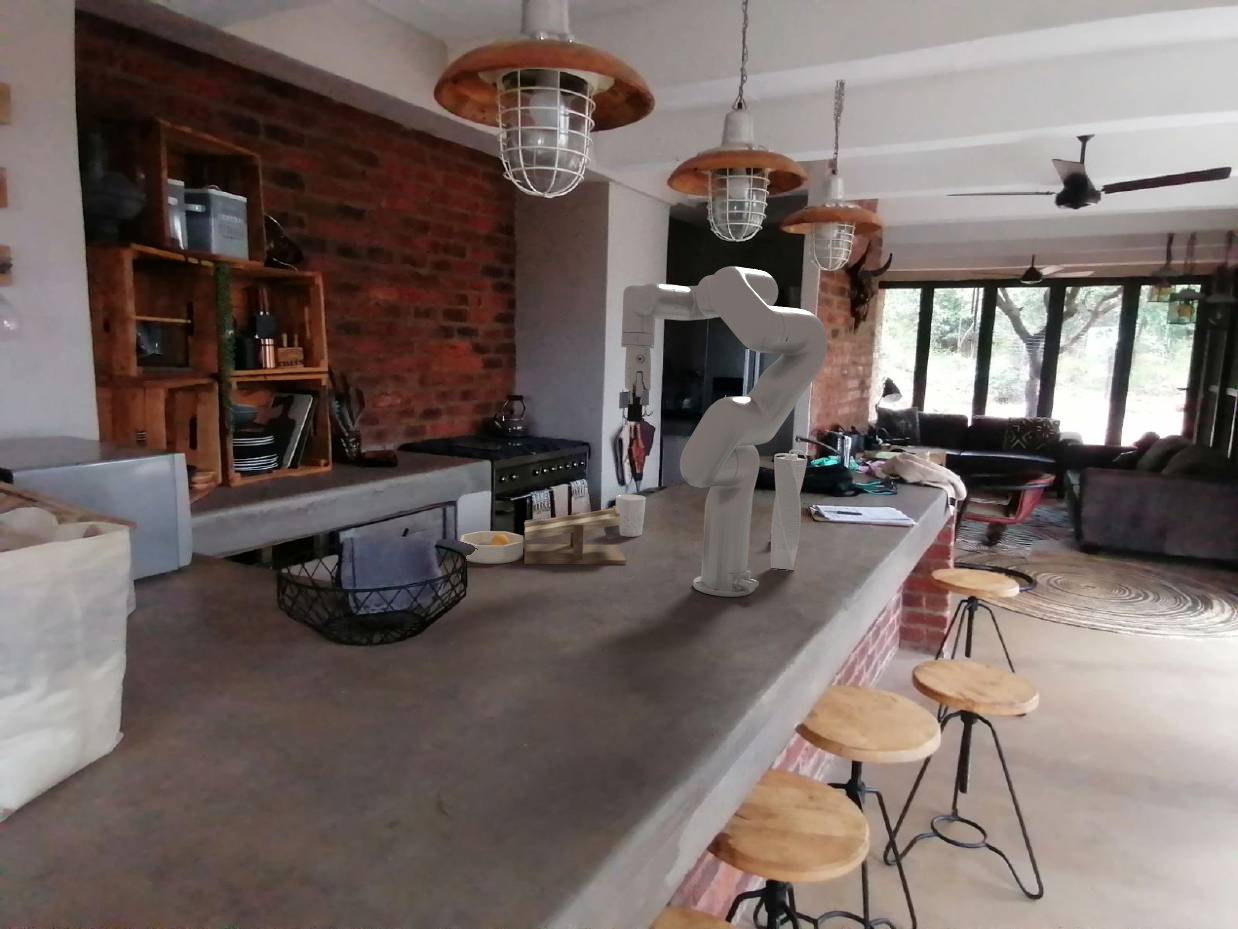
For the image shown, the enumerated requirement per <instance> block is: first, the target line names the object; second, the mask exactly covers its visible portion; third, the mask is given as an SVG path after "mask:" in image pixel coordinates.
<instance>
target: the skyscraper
mask: <svg viewBox="0 0 1238 929" xmlns="http://www.w3.org/2000/svg"><path fill="white" fill-rule="evenodd" d="M793 452H797V453H801V454H802V455H803V456H804V458H800V457H798V456H799V455H798V454H796V453H793ZM778 456H779V457H778ZM773 461H774V462H773V463H774V483H775V484H774V485H775V496H774V497H775V498H774V500H773V501H774V502H773V509H772V517H771V528H770V529H771V531H770V537H771V539H770V569H771V568H780V569H790V570H794V571H795V568H794V567H795V563H796V558H797V552H798V547H799V542H800V541H799V540H800V535H801V534H800V533H801V532H800V531H801V522H802V521H801V520H802V519H801V518H802V513H801V512H802V511H801V509H802V508H801V507H802V506H801V496H800V495H801V494H800V493H801V490H802V487H803V484H804V483H803V482H804V480H805V479H804V478H805V474H806V470H807V465H808V464H807V463H808V457H807V455H806V453H805V451H803V450H801V449H797V448H793V449H790V450H789V451H788V453H786V452H785V453H784V452H783V453H782V452H780V453H775V454H774V457H773Z"/></svg>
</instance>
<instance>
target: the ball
mask: <svg viewBox="0 0 1238 929" xmlns="http://www.w3.org/2000/svg"><path fill="white" fill-rule="evenodd" d="M491 544H492V545H497V546H503V545H508V544H509V540H508V538H507V537H506V536H505V535H503V534H497V535H495V536H494V537H493V539H492V541H491Z"/></svg>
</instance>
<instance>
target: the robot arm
mask: <svg viewBox="0 0 1238 929" xmlns="http://www.w3.org/2000/svg"><path fill="white" fill-rule="evenodd" d="M778 295H779V287H778V284H777V281H776V280H775V278H773V276H772V275H770V274H769V273H768V272H766V271H763V270H761V269H759V270H758V269H755V268H754V269H753V268H746V267H739V266H726V267H722V268H721V269H718V270H717V271H716V272H715V273H714V274H711V275H707V276H704V277H703V278H702V279H701V280H700V281H699V283H698V285H689V286H687V285H685V286H683V285H677V284H669V283H658V282H653V283H647V284H643V285H628V286H626V287H625V288H624V290H623V294H622V298H623V299H622V322H621V344H620V347H621V348H625V359H624V360H625V361H624V363H625V364H624V365H625V367H624V388H625V389H626V390H627V391H628V404H627V412H626V413H627V416H626V419H627V421H628V422H630V423H631V422H632V423H641V422H642V421H643V399H644V397H643V395H644V392H647V393H648V392H650V391H651V388H652V387H651V386H652V385H651V384H652V383H651V382H652V381H651V378H652V374H651V372H652V363H651V362H652V361H651V360H652V359H651V358H652V356H651V349H655V339H656V338H655V337H656V319H660V320H661V319H662V320H672V321H673V320H674V321H695V320H698V321H699V320H707V319H714V318H721V320H722V321H723V322H724V323H725V324H726V326H728V328H729V329H730V331H731V332H732V333H733V334H734V335H735V336H736V338H738V340H739V341H740V342H741V343H742V345H744V347H746V348H748V349H750V350H751V351H753V352H757V353H760V354H761V353H762V354H763V353H764V354H781V355H780V356H779V357H778V358H777V360H775V361H774V362H773V363H771V364H770V365H769V366H768V367H767V368H766V369H765V370H764V371H763V373H762V374H761V375H760V376H759V378H758V380H757V381H756V383H755V385H754V386H753V387H752V389H751V390H750V391H749V392H748V393H747V394H746V395H741V396H727V397H723V398H720V399H718V400H716V401H715V402H714V403H713V404H711V405H710V406H709V407H708V408H707V410H706V411H705V413H704V414H703V416H702V417H701V419H700V421H699V422H698V424H697V426H696V427H695V429H694V431H693V432H692V434H691V435H690V437H689V439H688V440H687V442H686V444H685V446H684V448H683V450H682V452H681V454H680V460H679V468H680V473H681V476H682V478H683V479H684V481H685V482H686V483H688V484H689V485H690V486H692V487H695V488H709V491H708V494H707V495H706V499H705V505H704V517H703V518H704V521H703V533H702V534H703V536H702V537H703V538H702V552H701V553H702V556H701V571H700V576H697V577H695V578H694V579H693V581H692V586H693V588H694V589H695V590H697V591H699V592H701V593H703V594H708V595H709V596H710V595H711V596H717V597H725V598H726V597H728V598H729V597H730V598H735V597H744V596H748V595H751V594H752V593H753V592H755V590H756V588H758V586H759V584H760V583H759V581H758V580H757V579H753V578H752V570H749V569H748V568H749V565H748V564H749V554H750V553H749V552H750V537H751V536H750V535H751V524H752V523H751V522H752V521H751V520H752V512H753V511H752V510H753V498H754V492H755V486H756V483H757V480H758V476H759V475H758V474H759V470H760V463H761V461H760V454H759V451H758V449H757V448H756V445H761V444H766V443H768V442H770V441H771V440H772V439H773V438H774V437H775V435H776V434H777V433H778V431H779V430H780V428H781V427H782V425H783V424H784V422H785V421H786V419H787V418H788V416H789V415H790V413H791V412H792V411H793V409H794V408H795V406H796V404H798V401H799V400H800V399H801V397H802V395H803V394H804V393H805V392H806V390H807V388H809V386H810V385H811V383H812V382H813V381H814V380H815V378H816V377H817V375H818V374H819V372H820V371H821V369H822V367H823V365H824V363H825V360H826V358H827V357H826V356H827V353H828V352H827V351H828V337H827V336H828V335H827V332H826V329H825V328H826V327H825V326H824V324H823V322H822V320H821V319H820V318H819V317H818V316H817V315H816V314H814V313H812V312H811V311H807V310H805V309H800V308H795V307H783V306H774V305H775V303H776V302H777V299H778Z"/></svg>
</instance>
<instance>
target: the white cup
mask: <svg viewBox="0 0 1238 929" xmlns="http://www.w3.org/2000/svg"><path fill="white" fill-rule="evenodd" d="M646 498H647V497H646V496H645V495H644V496H643V495H640V494H630V493H629V494H618V495H615V506H616V508H617V510H618V511H619V513H620V519H621V525H619V529H620V536H621V537H626V538H627V537H629V538H630V537H632V538H635V537H641V536H642V535H643V526H644V521H645V520H644V519H645V510H646V509H645V508H646Z"/></svg>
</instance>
